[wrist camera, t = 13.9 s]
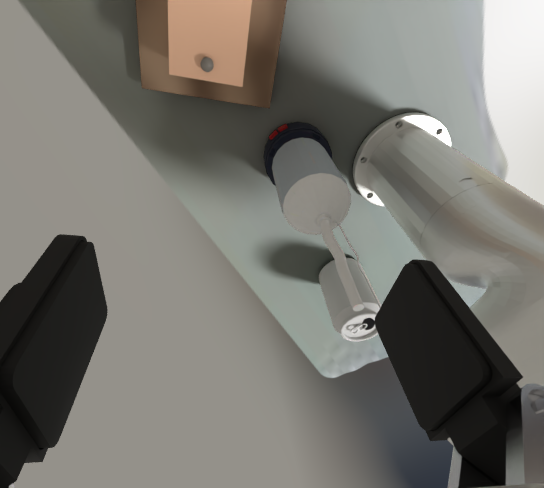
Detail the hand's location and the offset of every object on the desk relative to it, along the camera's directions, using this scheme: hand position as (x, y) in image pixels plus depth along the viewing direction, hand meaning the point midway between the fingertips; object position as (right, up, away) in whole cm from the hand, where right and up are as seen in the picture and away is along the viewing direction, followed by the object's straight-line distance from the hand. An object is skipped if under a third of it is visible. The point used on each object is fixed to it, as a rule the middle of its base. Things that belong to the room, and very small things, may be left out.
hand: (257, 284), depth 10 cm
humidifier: (+3, +13, +30) cm, 32 cm away
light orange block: (-5, +21, +19) cm, 29 cm away
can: (+12, -3, +43) cm, 45 cm away
